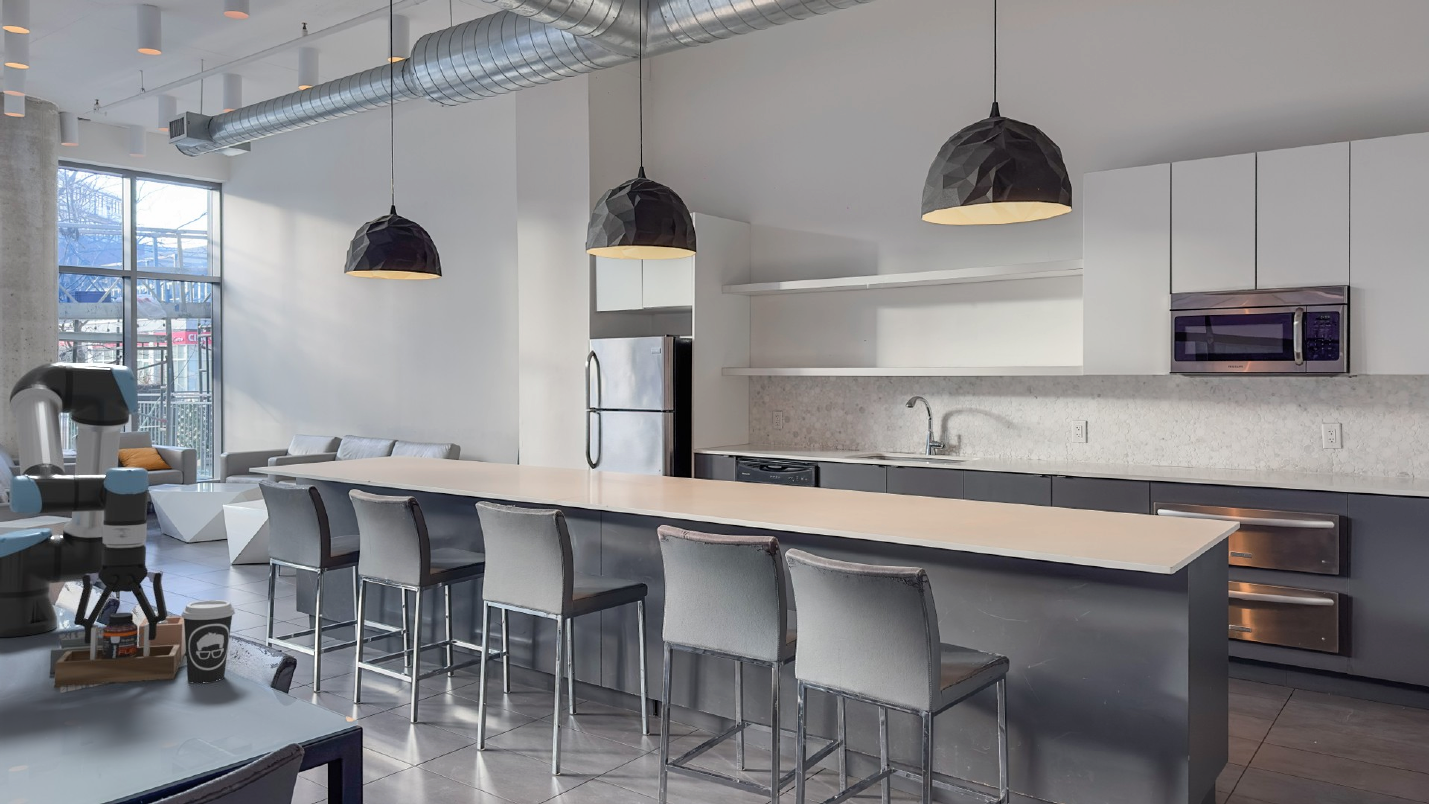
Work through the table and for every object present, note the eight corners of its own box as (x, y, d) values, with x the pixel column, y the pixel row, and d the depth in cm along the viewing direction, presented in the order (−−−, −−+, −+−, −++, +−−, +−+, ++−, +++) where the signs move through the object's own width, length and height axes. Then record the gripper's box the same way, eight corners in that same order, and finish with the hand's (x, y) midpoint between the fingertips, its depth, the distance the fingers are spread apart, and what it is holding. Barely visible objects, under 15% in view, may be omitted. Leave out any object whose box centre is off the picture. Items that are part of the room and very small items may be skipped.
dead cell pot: (143, 655, 209) (144, 618, 209) (185, 652, 212) (186, 616, 212) (137, 664, 201) (139, 626, 201) (181, 661, 205) (182, 624, 205)
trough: (66, 672, 194) (67, 650, 194) (179, 665, 202) (180, 644, 202) (54, 686, 185) (55, 663, 185) (173, 678, 193) (174, 656, 193)
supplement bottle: (120, 676, 190) (121, 618, 190) (94, 673, 191) (95, 616, 191) (143, 668, 196) (145, 612, 196) (118, 665, 197) (120, 610, 197)
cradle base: (61, 660, 203) (62, 638, 203) (116, 656, 207) (117, 635, 207) (50, 672, 194) (50, 650, 194) (107, 669, 198) (108, 647, 198)
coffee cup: (242, 673, 197) (245, 600, 197) (213, 687, 188) (216, 610, 188) (198, 671, 198) (201, 598, 198) (167, 684, 189) (170, 607, 189)
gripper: (57, 549, 186) (52, 666, 186) (182, 546, 194) (178, 658, 194) (66, 543, 193) (62, 656, 193) (186, 540, 201) (182, 649, 201)
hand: (120, 657), depth 193 cm, fingers open, 8 cm apart
